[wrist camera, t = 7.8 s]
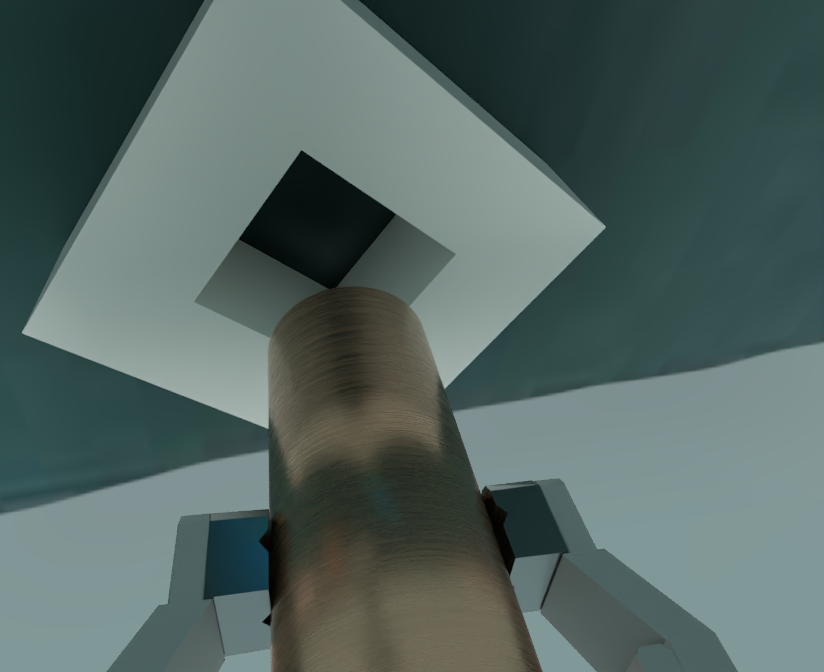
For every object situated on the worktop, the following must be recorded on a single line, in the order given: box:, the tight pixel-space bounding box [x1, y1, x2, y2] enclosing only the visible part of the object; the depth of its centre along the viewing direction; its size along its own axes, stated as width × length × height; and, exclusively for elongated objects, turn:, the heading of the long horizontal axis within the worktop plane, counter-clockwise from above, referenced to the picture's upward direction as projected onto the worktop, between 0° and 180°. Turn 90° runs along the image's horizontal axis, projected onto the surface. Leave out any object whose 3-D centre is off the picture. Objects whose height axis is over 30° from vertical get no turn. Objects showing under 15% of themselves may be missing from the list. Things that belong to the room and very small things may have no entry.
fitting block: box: [22, 0, 606, 429], centre depth 20 cm, size 12×12×5 cm
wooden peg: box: [268, 286, 542, 672], centre depth 11 cm, size 4×4×12 cm
